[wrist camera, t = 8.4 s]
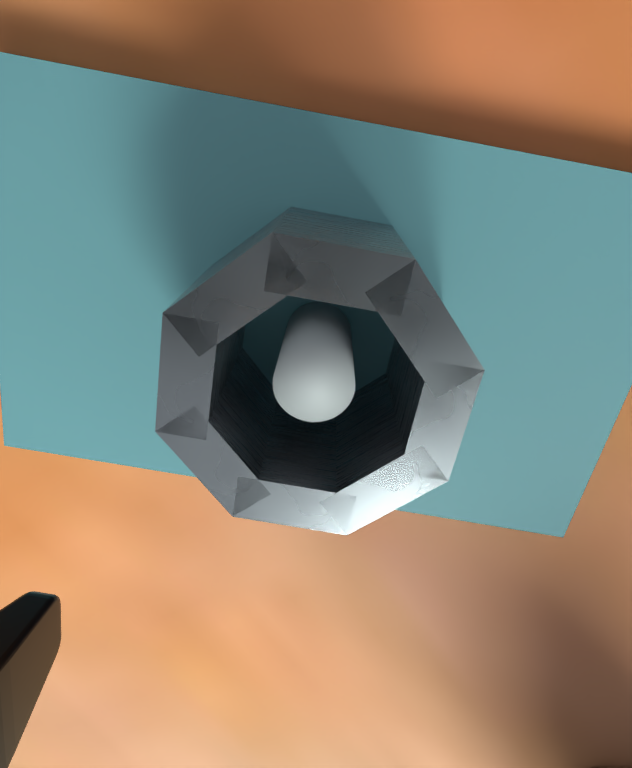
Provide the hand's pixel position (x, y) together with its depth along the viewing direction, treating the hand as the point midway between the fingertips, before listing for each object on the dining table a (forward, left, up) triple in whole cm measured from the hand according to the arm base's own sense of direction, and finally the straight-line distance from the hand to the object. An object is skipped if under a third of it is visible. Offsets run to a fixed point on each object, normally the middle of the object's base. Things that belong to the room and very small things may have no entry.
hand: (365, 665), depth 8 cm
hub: (+1, +1, -10) cm, 11 cm away
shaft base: (+1, +1, -12) cm, 12 cm away
